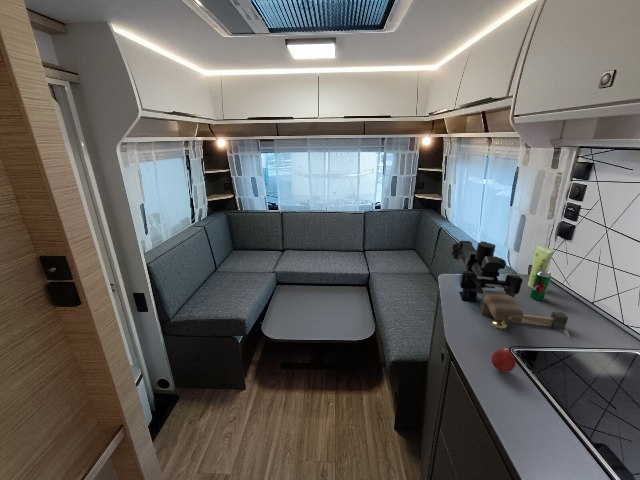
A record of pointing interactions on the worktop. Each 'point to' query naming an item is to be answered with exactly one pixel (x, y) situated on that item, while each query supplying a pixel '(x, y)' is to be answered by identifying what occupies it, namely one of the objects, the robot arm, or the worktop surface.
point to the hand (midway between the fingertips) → (498, 294)
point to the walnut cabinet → (500, 306)
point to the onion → (503, 360)
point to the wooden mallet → (547, 320)
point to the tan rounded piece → (499, 324)
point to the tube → (540, 261)
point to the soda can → (540, 284)
